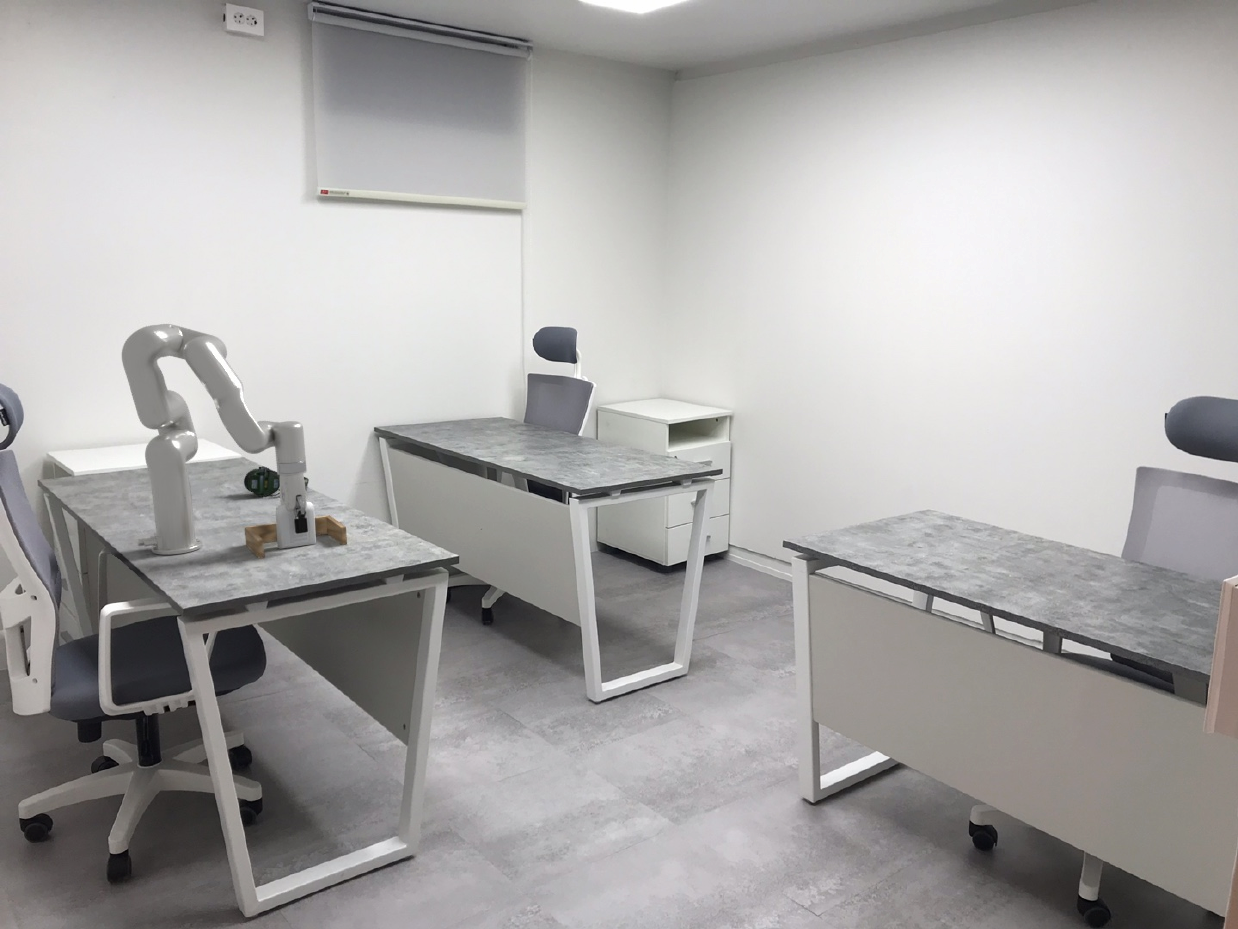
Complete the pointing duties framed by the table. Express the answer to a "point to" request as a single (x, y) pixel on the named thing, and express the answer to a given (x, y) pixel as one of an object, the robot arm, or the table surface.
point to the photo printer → (287, 528)
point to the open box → (269, 533)
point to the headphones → (264, 481)
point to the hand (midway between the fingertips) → (296, 528)
